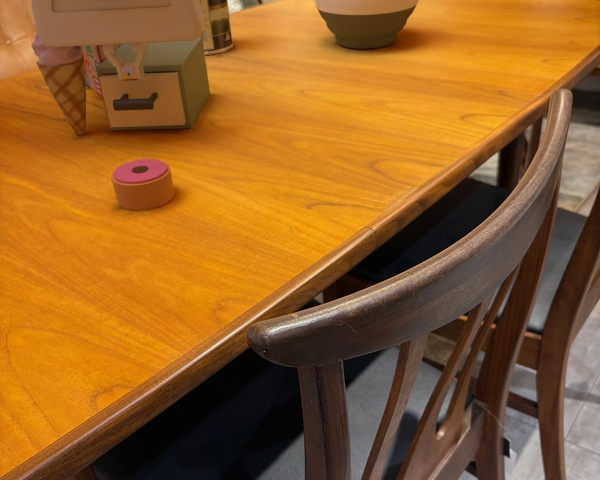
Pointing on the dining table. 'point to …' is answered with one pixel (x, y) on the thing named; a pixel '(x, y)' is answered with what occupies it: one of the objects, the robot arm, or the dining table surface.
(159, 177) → the donut
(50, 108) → the dining table surface
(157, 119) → the drawer
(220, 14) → the coffee can
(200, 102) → the cabinet
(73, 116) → the ice cream cone
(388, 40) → the bowl
